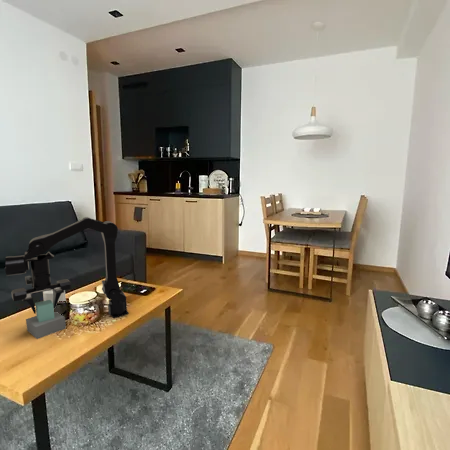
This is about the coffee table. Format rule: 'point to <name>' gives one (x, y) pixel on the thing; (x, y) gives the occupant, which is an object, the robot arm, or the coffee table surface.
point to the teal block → (44, 310)
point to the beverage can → (49, 296)
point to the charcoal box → (45, 325)
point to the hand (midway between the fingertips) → (44, 310)
